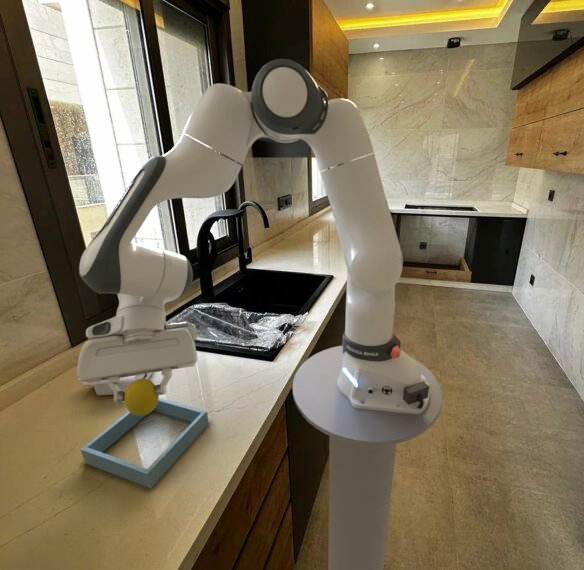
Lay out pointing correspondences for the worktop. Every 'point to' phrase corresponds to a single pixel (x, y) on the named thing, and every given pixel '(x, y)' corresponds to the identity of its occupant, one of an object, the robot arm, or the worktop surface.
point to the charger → (105, 389)
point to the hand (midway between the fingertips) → (140, 398)
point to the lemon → (141, 397)
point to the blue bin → (163, 462)
